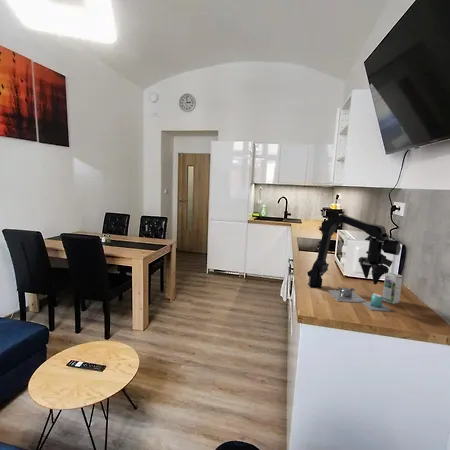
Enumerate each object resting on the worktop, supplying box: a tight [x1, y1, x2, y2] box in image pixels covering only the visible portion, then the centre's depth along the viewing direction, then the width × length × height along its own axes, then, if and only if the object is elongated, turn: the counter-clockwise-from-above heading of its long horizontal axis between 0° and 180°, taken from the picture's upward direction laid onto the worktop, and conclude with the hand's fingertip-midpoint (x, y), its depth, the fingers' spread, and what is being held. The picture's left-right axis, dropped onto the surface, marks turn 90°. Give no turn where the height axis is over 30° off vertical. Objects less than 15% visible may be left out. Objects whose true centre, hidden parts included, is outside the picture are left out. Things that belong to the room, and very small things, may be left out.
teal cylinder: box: [370, 293, 384, 308], centre depth 137 cm, size 5×5×6 cm
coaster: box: [362, 301, 392, 312], centre depth 138 cm, size 9×9×1 cm
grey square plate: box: [327, 286, 366, 304], centre depth 149 cm, size 14×14×5 cm
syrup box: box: [382, 272, 404, 305], centre depth 145 cm, size 6×6×14 cm
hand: (370, 281), depth 141 cm, fingers open, 9 cm apart
